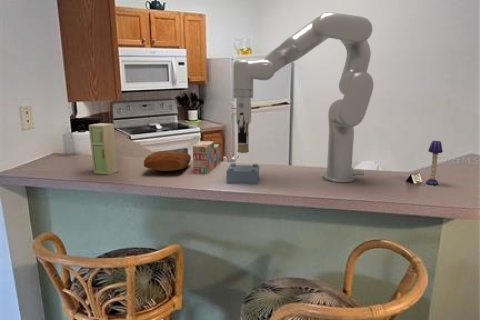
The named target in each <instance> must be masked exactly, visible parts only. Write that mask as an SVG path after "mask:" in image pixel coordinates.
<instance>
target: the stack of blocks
mask: <svg viewBox="0 0 480 320" xmlns="http://www.w3.org/2000/svg"><path fill="white" fill-rule="evenodd" d="M220 146H221V145H220V143H219V144H217V143H216V144H215V141H213V140H212V141H211V140H205V141H203V140H201V141H199V142H198V143H196V144H194V145H193V146H192V161H193V162H192V166H193V167H192V168H193V171H192V172H193V175H194V174H196V175H197V174H198V175H208V174H209V173H211V171H213V170H214V169H215V168H216V167H217V166H218V165H219V164H221V150H220V149H221V148H220Z"/></svg>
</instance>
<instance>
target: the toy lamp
mask: <svg viewBox="0 0 480 320" xmlns="http://www.w3.org/2000/svg"><path fill="white" fill-rule="evenodd" d="M442 145H443V144H442V141H439V140H432V141H431V143H430V144H429V147H428V152H429V153H432V158H431V159H432V160H431V168H430V177H429V179H427V180H426V181H425V184H426V185H429V186H432V185H434V186H436V185H437V186H439V182H438V180H437V179H436V174H437V173H436V172H437V163H438V158H439V157H438V155H439V154H442V153H443V152H444V151H443V146H442ZM434 186H433V187H434Z"/></svg>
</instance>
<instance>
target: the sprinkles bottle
mask: <svg viewBox="0 0 480 320" xmlns="http://www.w3.org/2000/svg"><path fill="white" fill-rule="evenodd" d="M238 122H239V121H238ZM238 124H239V123H238ZM238 124H237V129H238V128H239V125H238ZM243 124H245V123H243ZM249 125H250V124H249ZM249 125H248V124H246V133H247V142H246V143H238V142H237V152H238V153H240V154H247V153H249V139H250V138H249V136H250V135H249V128H250V127H249Z"/></svg>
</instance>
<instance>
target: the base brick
mask: <svg viewBox="0 0 480 320" xmlns="http://www.w3.org/2000/svg"><path fill="white" fill-rule="evenodd" d="M258 164H259V163H252V164H236V163H235V162H231V163H230V164H229V166H228V167H227V169H226V175H225V176H226V184H239V185H258V183H259V181H260V165H258Z"/></svg>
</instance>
